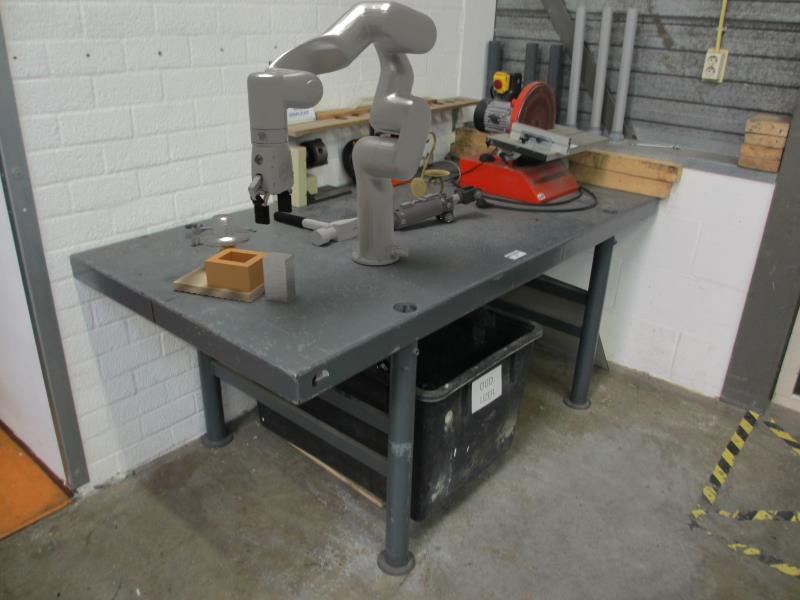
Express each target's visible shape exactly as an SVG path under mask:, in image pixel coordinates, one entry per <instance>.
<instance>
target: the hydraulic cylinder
mask: <svg viewBox="0 0 800 600" xmlns="http://www.w3.org/2000/svg"><path fill="white" fill-rule="evenodd" d="M439 193H440V192H439V191H437V192H435V193H429V194H425V195H424V196H423V197H422V198H418V197H416V200H414V199H413V200H412V201H406V202H403V203H400V204H399V207H400V208H397V209H394V229H395V228H396V229H395V230H397V229H399V230H401V229H403V228H406V227H409V226H411V225H415V224H417V223H418V224H419V223H420V222H423V221H426V220H429V219H431V218H433V217H434V218H435V219H436V220H439V219H440V218H442V220H441V221H443V222H444V223H446V222H448V221H451V222H452V221H453V220H455V219H456V217H455V215H454V210H455V207H454V206H455V204H457V205H460V204H462V205H465V206H466V205H468V204H469V205H470V204H471V203H474V202H477V201H479V200H481V199H482V197H483V190H482V188H481V187H477V186H476V187H474V185H471V184H468V185H464V186H462V187H457V188H455V189H453V194H450V193H446V192H444V191H443V192H442V194H439Z"/></svg>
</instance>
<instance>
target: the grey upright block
mask: <svg viewBox="0 0 800 600" xmlns="http://www.w3.org/2000/svg"><path fill="white" fill-rule="evenodd" d="M268 253H269V254H267V255H266V256H264V257H262V258H263V271H264V284H265V292H264V296H265V300H268V301H276V302H281V303H287V304H288V303H289V302H290V301H292V300H293V299H294V298H295V297H297V296H296V277H295V275H296V274H295V258H294V254H290V253H289V254H288V253H283V252H275V251H271V252H268Z"/></svg>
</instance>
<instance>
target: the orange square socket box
mask: <svg viewBox="0 0 800 600" xmlns="http://www.w3.org/2000/svg"><path fill="white" fill-rule="evenodd" d="M234 221H235V220H234V215H232V214H229V213H222V214H221V213H220V214H216V215H213V216H212V224H213V226H212V227H214V229H209V230H206V231H204V232H202V233H201V234H200V235H198V238H199V240H200V243H201V244H202V245H203V246H206V247H211V248H215V251H216V252H215V254H214V255H213V256H211V257H209V258H207V259H205V260H204V264H203V265H201V266H199V267H198V268H196V269H194V270H192V271H191V272H189V273H186V274H184V275H183V276H182V277H180V278H178V279H175V280H174V281H173V282H172V288H173V291H175V290H177V291H176V292H181V291H184V292H183V293H187V292H190V293H189V294H193V293H196V294H195V295H199V294H203V295H202V296H205V295H208V296H207V297H212V296H215V297H214V298H218V297H220V298H219V299H224V298H226V299H225V300H230V299H233V300H232V301H236V300H240V301H239V302H242V301H245V302H244V303H249V302H250V303H252V302H253V301H255V300H256V299H257V298H259V297H260V296H261V295H262V294H265V284H264V271H263V258H262V257H264V256H266V255H267V254H269V253H270V252H264V251H256V250H249V249H242V248H241V249H240V248H237V246H239V245H243V244H245V243H247V242H249V241H250V239H251V233H250V232H249V231H248V230H246V229H244V228H245V227H239V226H237V227H236V226H235V223H234Z"/></svg>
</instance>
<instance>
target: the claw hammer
mask: <svg viewBox="0 0 800 600" xmlns="http://www.w3.org/2000/svg"><path fill="white" fill-rule="evenodd" d="M273 220H274V221H275V220H276V221H275V222H278V221H279V222H278V223H282V222H283V223H284V224H287V225H291V226H294V227H299V228H303V229H309V230H312V232H311V234H310V240H311V242H312V243H313V244H314V245H315V246H317V247H319V246H322V245H326V244H327V243H329V242H330V240H332V241H335V242H340V243H341V242H345V241H348V240H352V239H353V238H355V237H357V216H356V217H352V218H345V219H338V220H334V221H330V222H324V221H320V220H316V219H311V218H308V217H306V216H300V215H296V214H291V213H285V212H279V211H278V210H277V211H275V212H274V213H273ZM283 223H282V224H283Z"/></svg>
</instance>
